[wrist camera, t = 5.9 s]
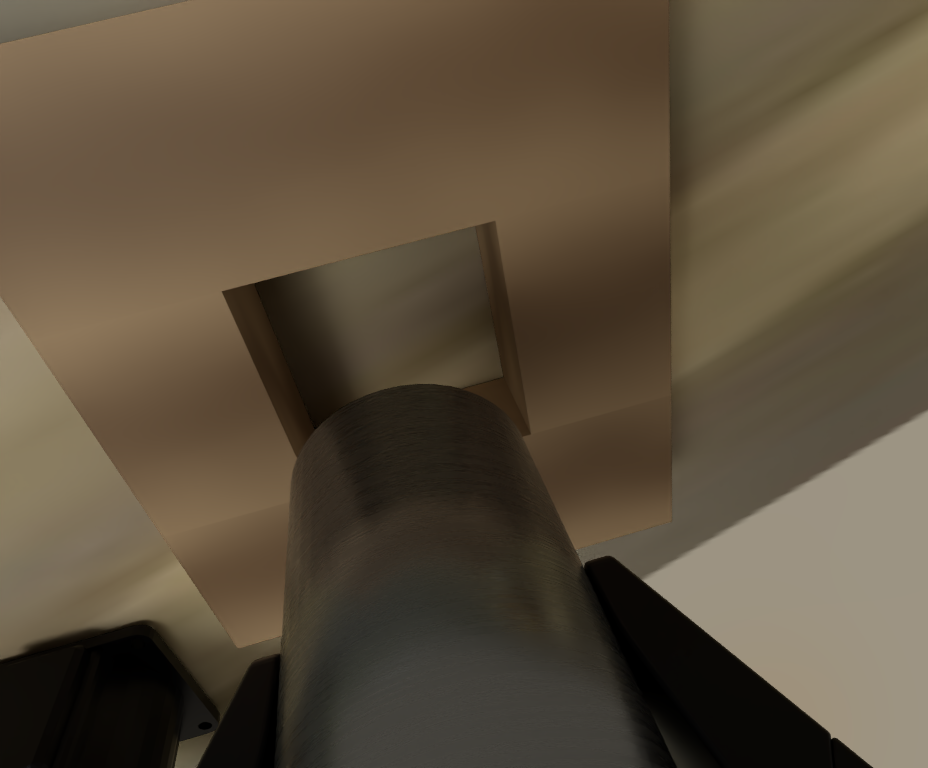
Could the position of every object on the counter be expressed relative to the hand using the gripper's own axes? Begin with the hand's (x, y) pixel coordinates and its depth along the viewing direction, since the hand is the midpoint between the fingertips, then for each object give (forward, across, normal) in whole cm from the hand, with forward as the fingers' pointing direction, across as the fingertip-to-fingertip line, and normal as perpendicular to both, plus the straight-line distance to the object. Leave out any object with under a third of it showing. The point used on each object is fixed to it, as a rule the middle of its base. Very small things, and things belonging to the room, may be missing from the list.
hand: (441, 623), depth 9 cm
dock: (+10, 0, 0) cm, 10 cm away
